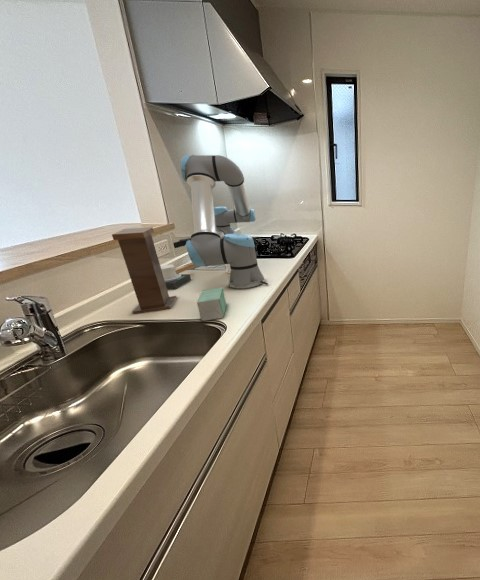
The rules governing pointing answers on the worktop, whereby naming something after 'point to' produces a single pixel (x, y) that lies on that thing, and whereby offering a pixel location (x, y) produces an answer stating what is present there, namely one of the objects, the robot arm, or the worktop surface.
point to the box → (211, 304)
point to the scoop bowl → (174, 270)
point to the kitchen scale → (177, 281)
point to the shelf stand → (144, 269)
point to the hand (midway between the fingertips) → (186, 245)
